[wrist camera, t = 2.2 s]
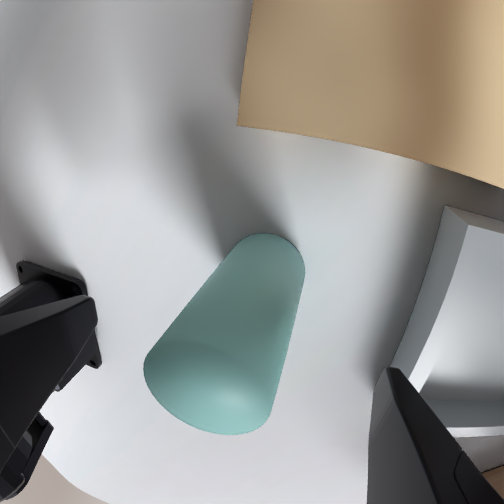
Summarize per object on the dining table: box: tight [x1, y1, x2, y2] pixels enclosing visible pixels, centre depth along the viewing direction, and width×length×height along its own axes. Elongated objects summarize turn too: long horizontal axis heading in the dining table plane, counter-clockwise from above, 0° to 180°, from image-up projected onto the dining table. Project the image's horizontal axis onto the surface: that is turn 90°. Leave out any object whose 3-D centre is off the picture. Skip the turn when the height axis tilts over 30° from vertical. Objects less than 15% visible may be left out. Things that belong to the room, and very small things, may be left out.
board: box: [237, 0, 504, 189], centre depth 8 cm, size 10×7×2 cm
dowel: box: [143, 233, 305, 435], centre depth 10 cm, size 3×3×7 cm
